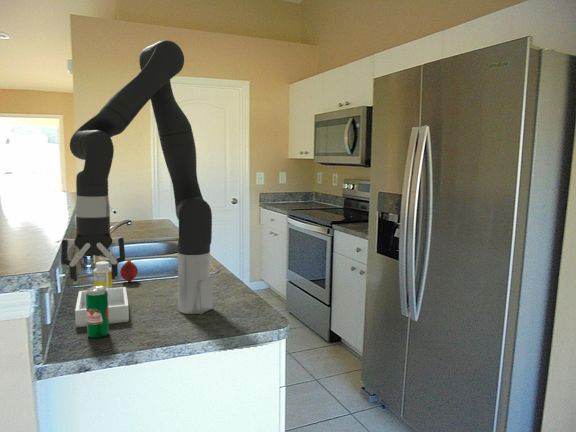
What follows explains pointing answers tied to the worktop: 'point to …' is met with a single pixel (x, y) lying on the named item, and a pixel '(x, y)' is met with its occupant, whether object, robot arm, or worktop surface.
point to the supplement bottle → (103, 275)
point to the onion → (128, 271)
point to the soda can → (97, 312)
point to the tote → (115, 307)
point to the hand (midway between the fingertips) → (94, 279)
